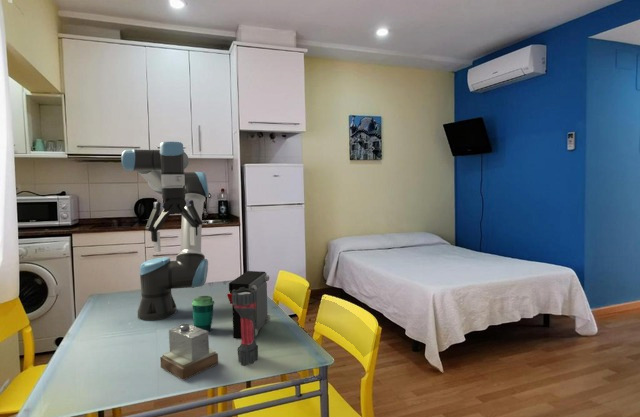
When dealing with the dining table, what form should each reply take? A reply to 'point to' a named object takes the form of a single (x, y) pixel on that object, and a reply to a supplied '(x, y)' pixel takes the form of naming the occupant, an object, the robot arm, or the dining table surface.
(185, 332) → the housing
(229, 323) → the dining table surface
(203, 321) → the cup
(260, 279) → the electrical component
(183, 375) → the stand
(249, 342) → the flashlight
